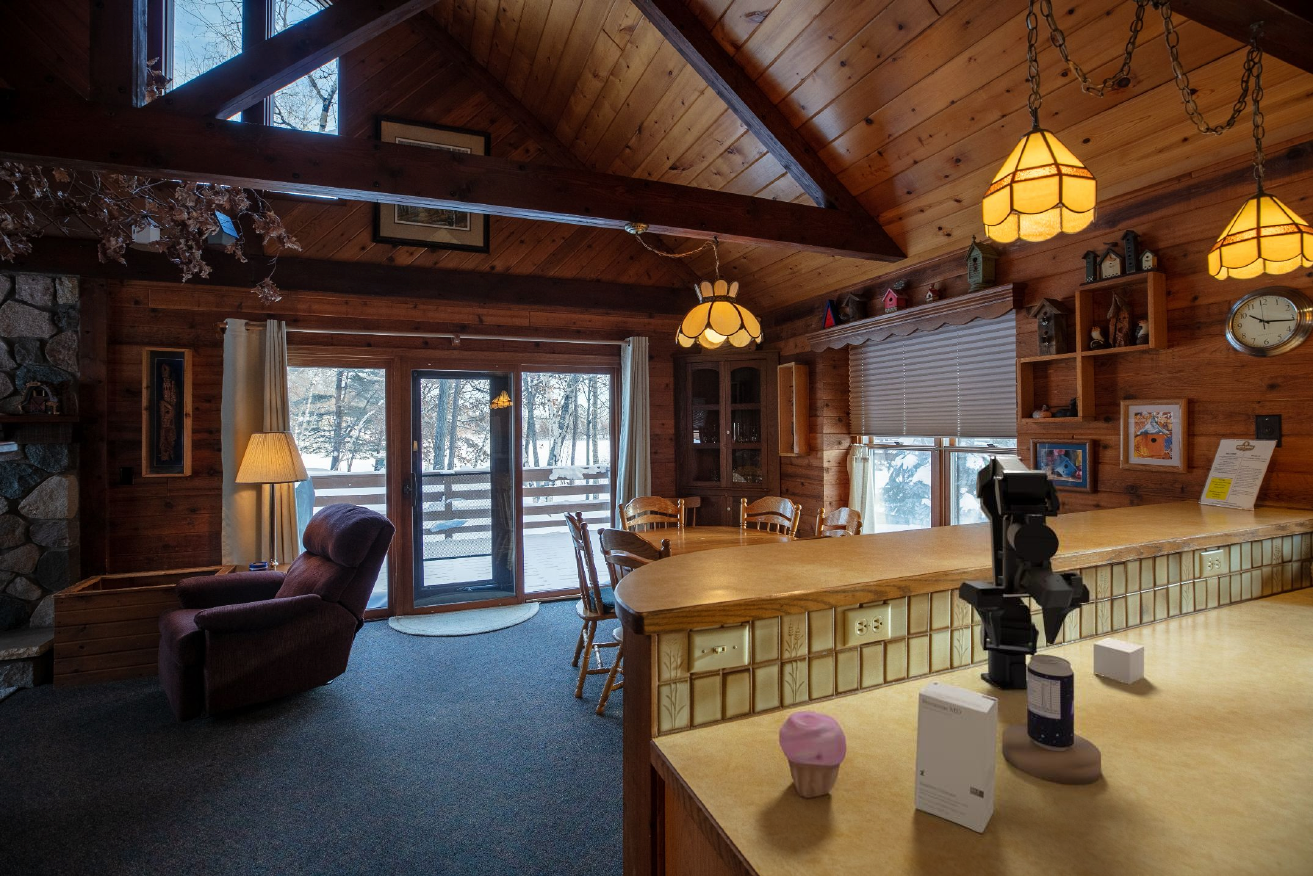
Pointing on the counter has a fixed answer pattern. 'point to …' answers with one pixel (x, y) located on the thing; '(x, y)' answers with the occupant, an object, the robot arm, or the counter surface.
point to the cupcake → (813, 751)
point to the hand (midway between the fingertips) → (1023, 645)
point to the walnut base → (1052, 758)
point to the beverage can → (1050, 702)
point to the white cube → (1119, 660)
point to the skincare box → (956, 754)
